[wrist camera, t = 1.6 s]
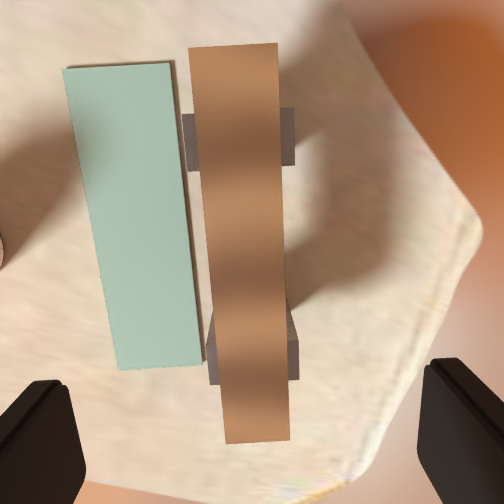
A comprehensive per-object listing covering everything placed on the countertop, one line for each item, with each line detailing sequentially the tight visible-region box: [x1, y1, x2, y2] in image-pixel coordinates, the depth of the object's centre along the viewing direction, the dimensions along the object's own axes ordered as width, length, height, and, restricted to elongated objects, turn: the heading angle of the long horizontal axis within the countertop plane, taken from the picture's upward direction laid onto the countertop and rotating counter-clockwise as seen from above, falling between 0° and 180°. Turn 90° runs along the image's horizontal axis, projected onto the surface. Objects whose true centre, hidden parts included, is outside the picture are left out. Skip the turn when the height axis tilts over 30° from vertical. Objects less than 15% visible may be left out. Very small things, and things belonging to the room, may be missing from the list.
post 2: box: [206, 294, 299, 385], centre depth 28 cm, size 3×6×10 cm, turn 93°
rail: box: [188, 43, 290, 444], centre depth 21 cm, size 22×4×4 cm, turn 3°
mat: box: [62, 63, 203, 370], centre depth 30 cm, size 26×8×1 cm, turn 3°
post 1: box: [182, 108, 295, 172], centre depth 24 cm, size 3×6×10 cm, turn 93°
